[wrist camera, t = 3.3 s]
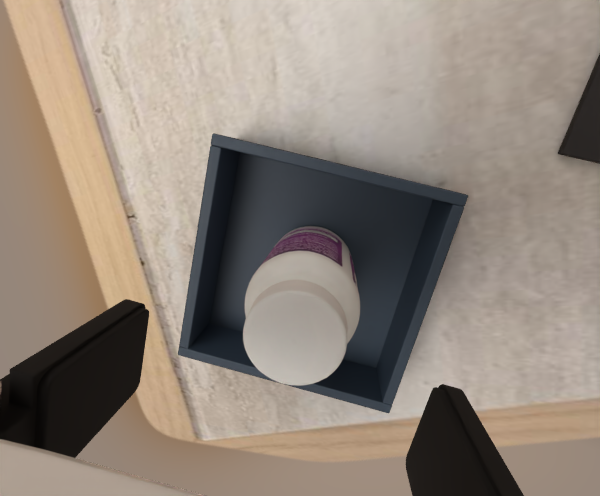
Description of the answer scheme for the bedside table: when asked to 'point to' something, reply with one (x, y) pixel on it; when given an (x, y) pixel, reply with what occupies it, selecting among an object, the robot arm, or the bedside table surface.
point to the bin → (340, 220)
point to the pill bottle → (302, 307)
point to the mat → (585, 123)
